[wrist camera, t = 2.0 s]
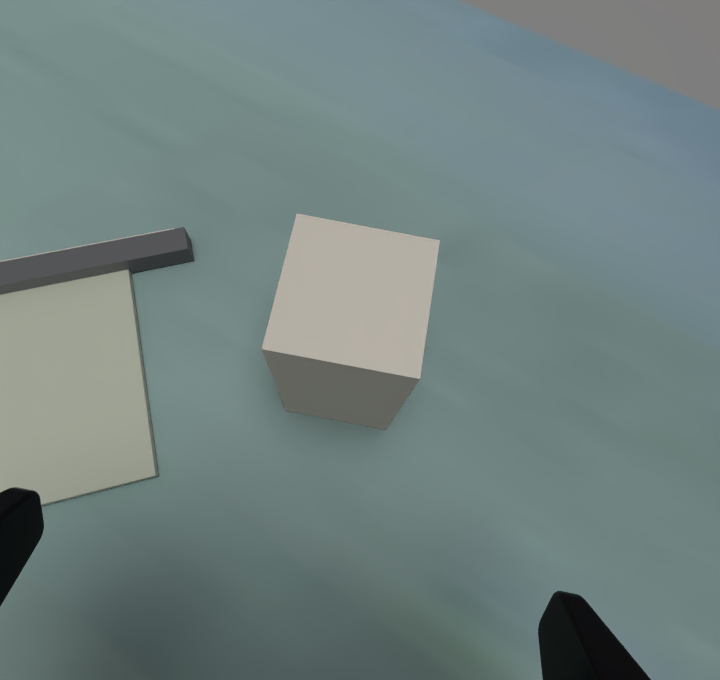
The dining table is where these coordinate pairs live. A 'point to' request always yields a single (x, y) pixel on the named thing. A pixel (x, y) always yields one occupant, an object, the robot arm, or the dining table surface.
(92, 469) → the pad
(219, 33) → the dining table surface
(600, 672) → the robot arm
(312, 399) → the carton
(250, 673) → the dining table surface
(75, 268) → the rail
